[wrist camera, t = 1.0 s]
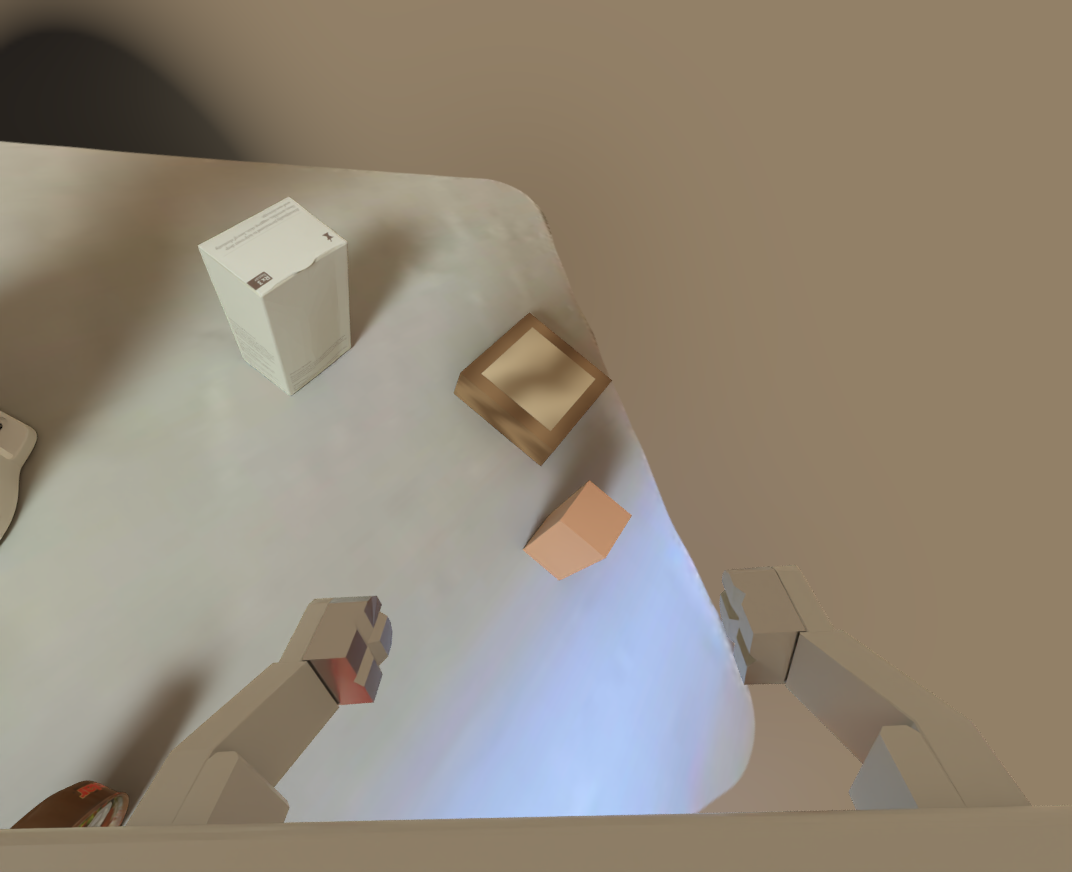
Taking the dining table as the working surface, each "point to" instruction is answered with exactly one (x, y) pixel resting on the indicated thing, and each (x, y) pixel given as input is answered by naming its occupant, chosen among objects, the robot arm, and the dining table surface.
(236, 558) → the dining table surface
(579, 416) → the plinth
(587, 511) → the terracotta block
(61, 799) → the tin
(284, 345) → the skincare box
